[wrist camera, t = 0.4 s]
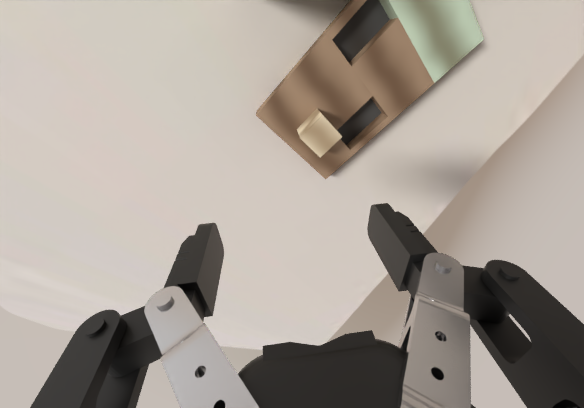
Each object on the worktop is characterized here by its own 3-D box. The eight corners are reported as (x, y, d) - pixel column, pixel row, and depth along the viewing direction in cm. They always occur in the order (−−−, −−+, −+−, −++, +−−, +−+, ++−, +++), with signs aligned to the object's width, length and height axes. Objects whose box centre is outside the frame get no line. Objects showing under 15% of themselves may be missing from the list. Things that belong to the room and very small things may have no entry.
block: (317, 108, 32) (323, 115, 29) (334, 127, 34) (342, 136, 31) (296, 129, 34) (300, 138, 30) (314, 147, 36) (320, 157, 32)
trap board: (419, -82, 25) (433, -93, 23) (469, 39, 32) (484, 39, 30) (256, 111, 34) (256, 115, 32) (322, 172, 41) (325, 179, 39)
